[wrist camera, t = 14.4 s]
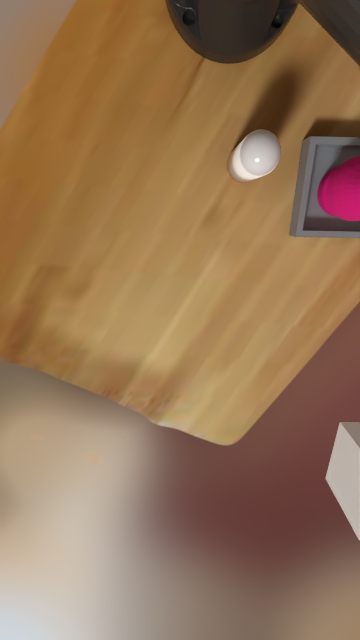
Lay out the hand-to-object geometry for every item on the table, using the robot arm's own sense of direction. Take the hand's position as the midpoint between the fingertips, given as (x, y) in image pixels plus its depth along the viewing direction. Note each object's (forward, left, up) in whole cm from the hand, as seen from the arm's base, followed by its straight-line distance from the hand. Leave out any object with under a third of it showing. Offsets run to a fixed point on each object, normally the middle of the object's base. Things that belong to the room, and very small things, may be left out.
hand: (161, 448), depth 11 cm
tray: (-11, +22, -35) cm, 43 cm away
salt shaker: (-14, +9, -35) cm, 38 cm away
